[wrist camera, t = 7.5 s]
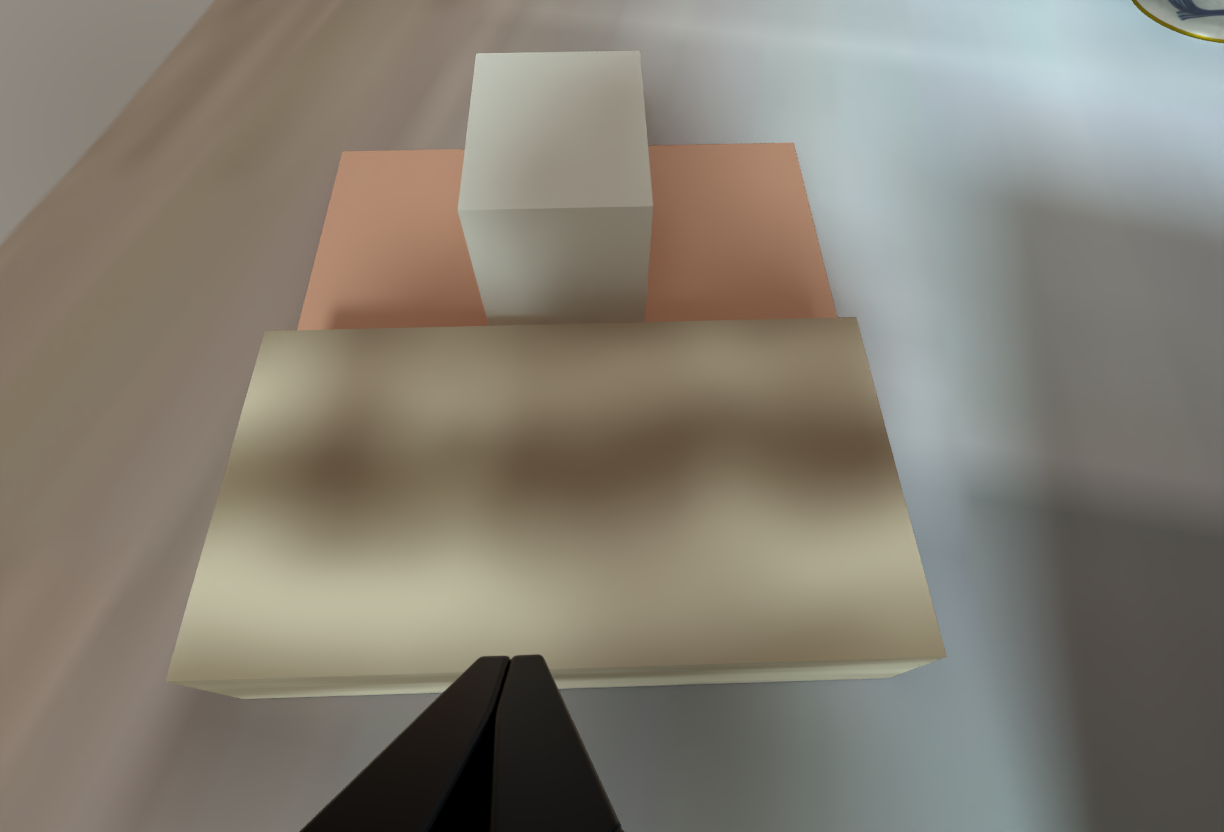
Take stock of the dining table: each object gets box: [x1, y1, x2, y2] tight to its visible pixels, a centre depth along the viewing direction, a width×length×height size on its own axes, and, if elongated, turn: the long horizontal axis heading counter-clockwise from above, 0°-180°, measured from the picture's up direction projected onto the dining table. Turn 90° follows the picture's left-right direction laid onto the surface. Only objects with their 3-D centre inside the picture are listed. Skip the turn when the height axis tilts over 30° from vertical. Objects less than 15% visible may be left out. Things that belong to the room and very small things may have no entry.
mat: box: [297, 143, 837, 330], centre depth 29 cm, size 13×22×1 cm, turn 92°
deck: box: [165, 317, 947, 699], centre depth 21 cm, size 11×20×4 cm, turn 92°
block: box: [458, 51, 653, 326], centre depth 25 cm, size 7×6×8 cm
